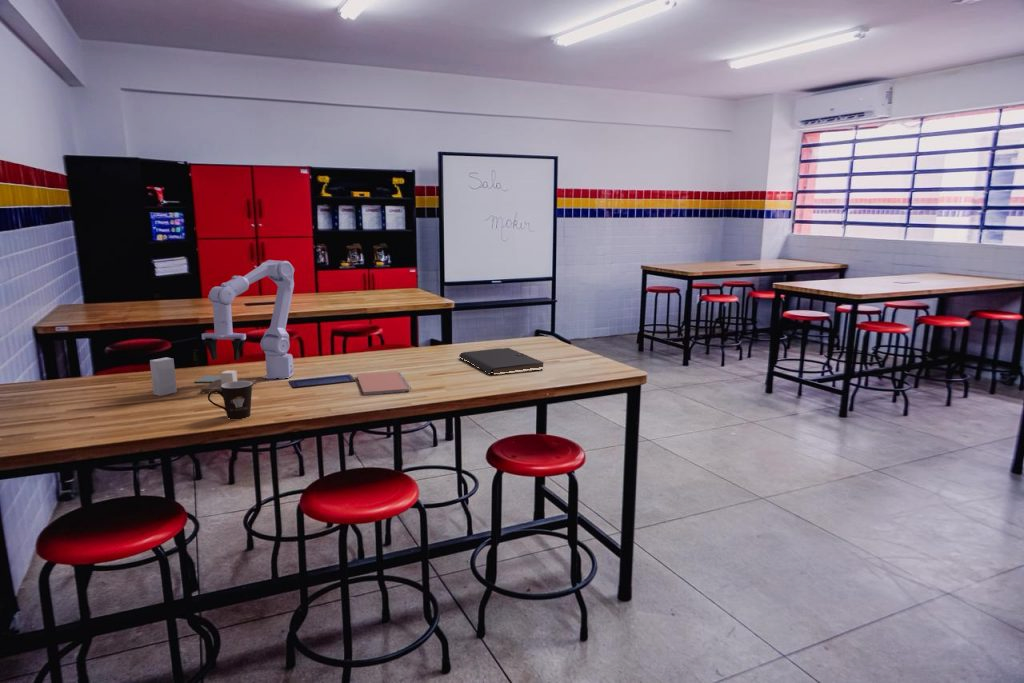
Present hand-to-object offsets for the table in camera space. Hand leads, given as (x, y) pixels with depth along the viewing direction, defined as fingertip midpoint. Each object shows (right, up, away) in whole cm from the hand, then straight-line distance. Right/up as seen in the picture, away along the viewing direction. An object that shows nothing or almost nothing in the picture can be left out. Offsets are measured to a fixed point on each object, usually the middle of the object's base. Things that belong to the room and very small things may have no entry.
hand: (225, 359), depth 218 cm
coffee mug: (+16, -17, -29) cm, 37 cm away
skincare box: (-18, -12, -6) cm, 22 cm away
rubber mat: (-11, -8, +13) cm, 19 cm away
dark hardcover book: (+96, -4, +46) cm, 106 cm away
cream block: (0, -10, +2) cm, 10 cm away
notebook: (+53, -10, +11) cm, 55 cm away
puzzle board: (0, -10, +2) cm, 10 cm away
